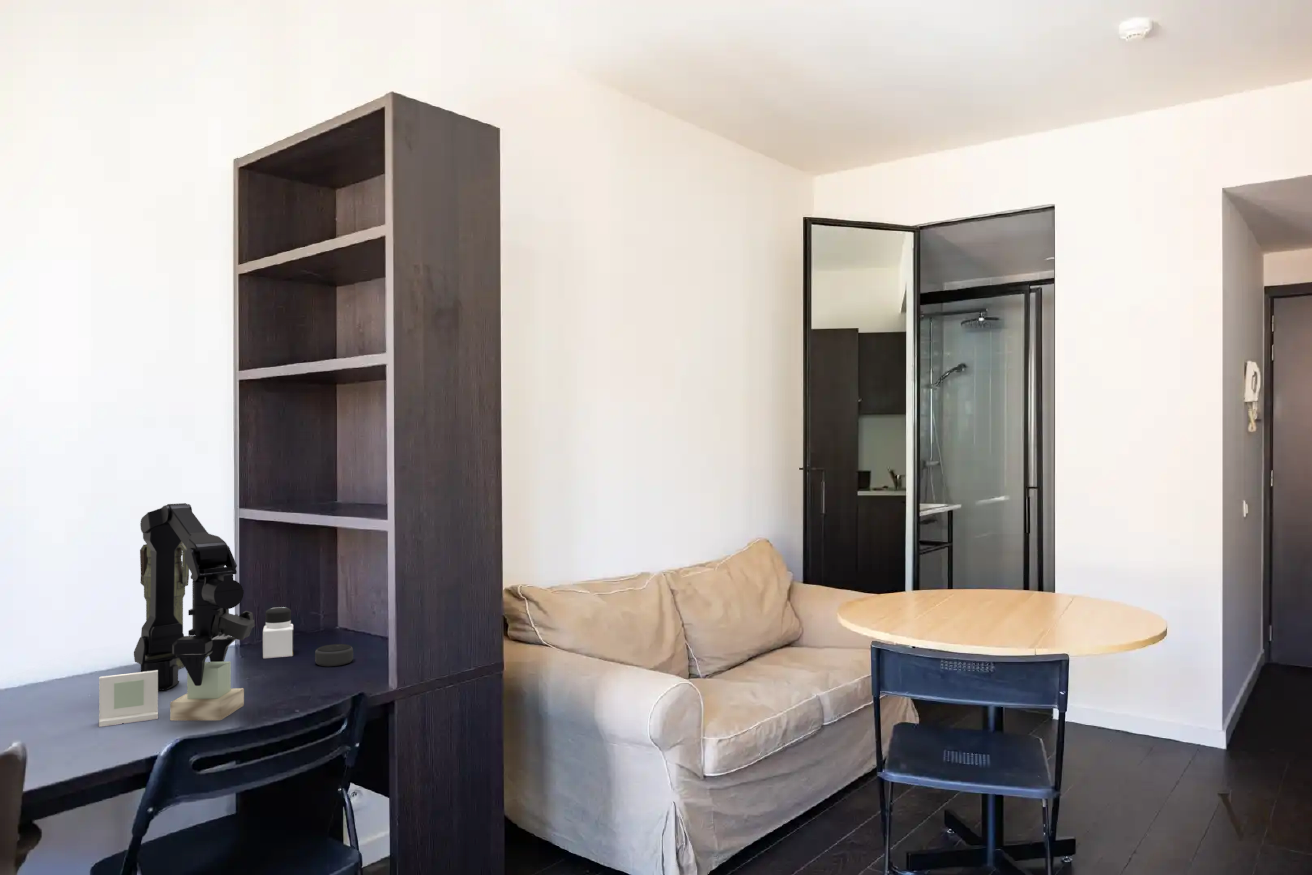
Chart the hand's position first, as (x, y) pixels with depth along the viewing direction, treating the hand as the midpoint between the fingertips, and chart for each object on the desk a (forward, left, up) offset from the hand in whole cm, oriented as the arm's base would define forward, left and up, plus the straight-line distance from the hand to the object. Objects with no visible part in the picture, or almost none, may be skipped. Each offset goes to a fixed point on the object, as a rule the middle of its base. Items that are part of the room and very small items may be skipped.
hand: (208, 679), depth 182 cm
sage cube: (0, 0, -3) cm, 3 cm away
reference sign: (-14, -4, -7) cm, 16 cm away
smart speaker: (+14, +40, -7) cm, 43 cm away
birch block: (0, 0, -7) cm, 7 cm away
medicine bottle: (-3, +50, -7) cm, 51 cm away
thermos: (-26, +38, -7) cm, 47 cm away
